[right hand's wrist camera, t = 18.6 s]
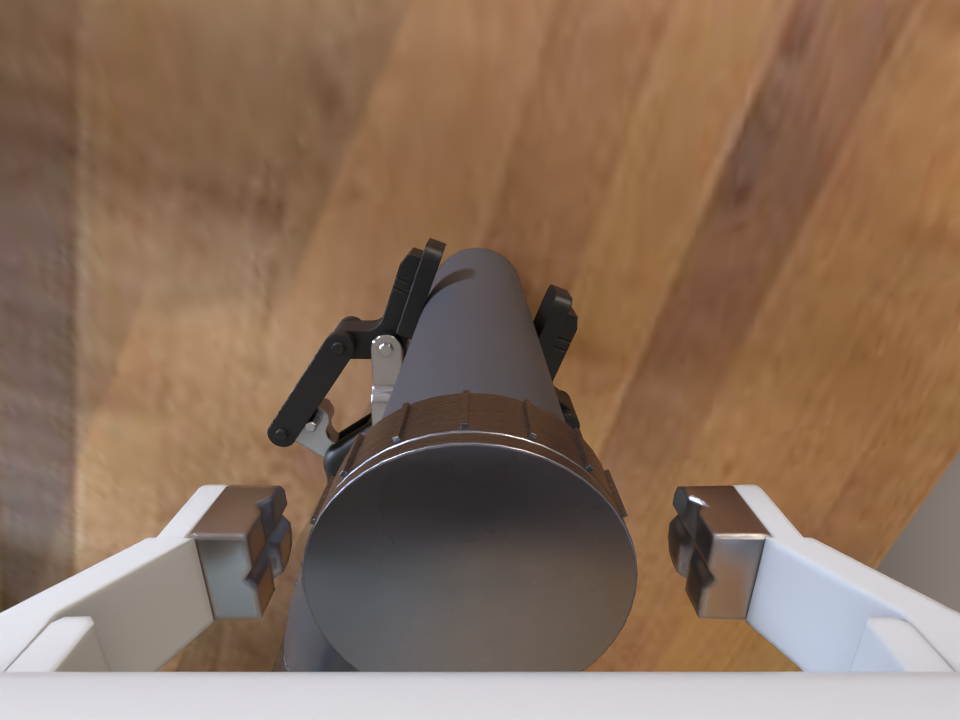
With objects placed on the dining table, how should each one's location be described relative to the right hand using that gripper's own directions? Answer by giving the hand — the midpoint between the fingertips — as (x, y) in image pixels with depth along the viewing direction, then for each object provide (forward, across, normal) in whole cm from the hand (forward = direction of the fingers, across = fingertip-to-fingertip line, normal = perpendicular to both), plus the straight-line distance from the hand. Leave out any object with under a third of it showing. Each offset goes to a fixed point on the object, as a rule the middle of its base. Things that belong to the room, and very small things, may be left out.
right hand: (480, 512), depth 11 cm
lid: (-2, 0, 0) cm, 2 cm away
